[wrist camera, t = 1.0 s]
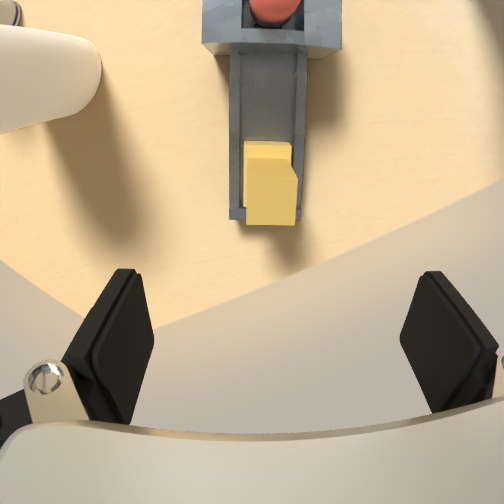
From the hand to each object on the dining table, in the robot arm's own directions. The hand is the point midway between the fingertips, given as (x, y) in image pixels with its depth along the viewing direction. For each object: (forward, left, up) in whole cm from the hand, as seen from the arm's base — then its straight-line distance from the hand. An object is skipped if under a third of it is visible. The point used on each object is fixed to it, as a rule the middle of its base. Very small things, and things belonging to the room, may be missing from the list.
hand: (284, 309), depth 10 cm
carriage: (0, 0, -18) cm, 18 cm away
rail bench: (0, -6, -20) cm, 21 cm away
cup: (+19, -10, -20) cm, 29 cm away
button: (0, -13, -15) cm, 20 cm away
